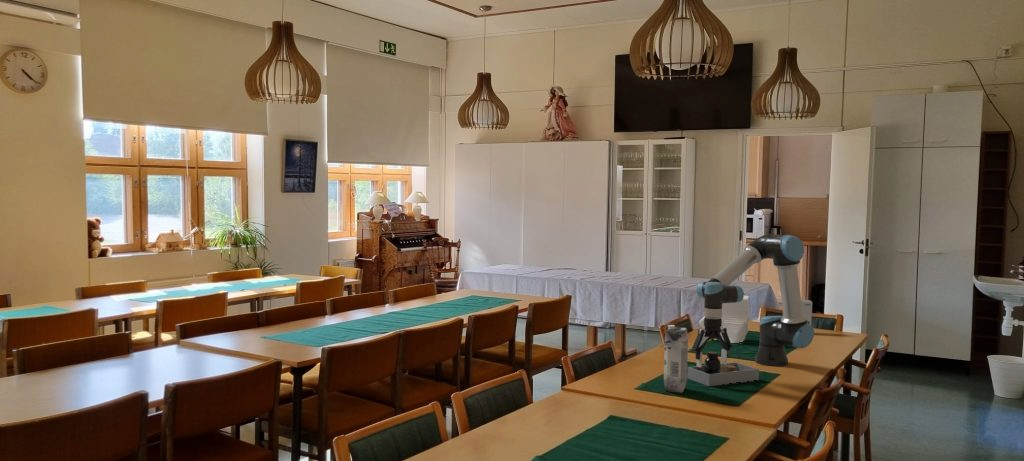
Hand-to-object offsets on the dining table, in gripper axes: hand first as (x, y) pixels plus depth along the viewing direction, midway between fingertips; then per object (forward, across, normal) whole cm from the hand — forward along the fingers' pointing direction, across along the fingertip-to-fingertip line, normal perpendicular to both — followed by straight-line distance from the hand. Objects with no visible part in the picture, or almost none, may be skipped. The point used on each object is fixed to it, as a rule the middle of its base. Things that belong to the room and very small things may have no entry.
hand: (711, 365), depth 317 cm
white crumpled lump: (+7, -70, -71) cm, 101 cm away
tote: (+7, -6, 0) cm, 9 cm away
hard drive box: (+7, -126, -74) cm, 147 cm away
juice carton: (+7, +24, +7) cm, 26 cm away
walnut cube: (+6, -10, 0) cm, 11 cm away
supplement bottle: (+6, 0, 0) cm, 6 cm away
